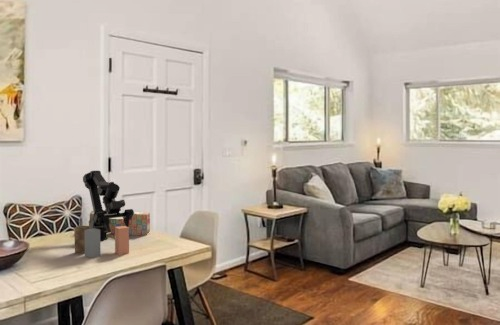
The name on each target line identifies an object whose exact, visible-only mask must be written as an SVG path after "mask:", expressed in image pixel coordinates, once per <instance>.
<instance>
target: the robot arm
mask: <svg viewBox="0 0 500 325" xmlns="http://www.w3.org/2000/svg"><path fill="white" fill-rule="evenodd" d="M82 182H83V183H84V184H83V185H84V187H85V188H86V189H87V190H88V192H89V196H90V201H91V206H92V211H94V214H93V216H92V220H91V223H90V229H92V228H95V229H100V242H102V241H106V240H108V239H109V237H107V236H108V235H107V234H108V233H107V231H106V229H107V230H108V231H110V227H109V218H118V217H123V219H124V223H125V226H127V227H129V220H130V219H132V217H133V214H134V212H135V211H134V209H133V208H129V209H125V210H124V211H123V212H121V210H122V209H121V208H124V207H125V206H126V201H125V199H120V200H116V199H117V196H118V194H119V192H120V186H119V185H118V184H117V183H115V182H114V181H110V182H108V181H107V180H106V179H105V177H104V176H103V174H102V173H101V170H91V171H89V172H87V173H85V174H84V175H83V176H82ZM101 197H102V201H101ZM102 204H104V207H105V211H104V209H103V205H102ZM94 226H95V227H94Z"/></svg>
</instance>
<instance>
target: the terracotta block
mask: <svg viewBox="0 0 500 325" xmlns="http://www.w3.org/2000/svg"><path fill="white" fill-rule="evenodd" d="M114 253H115V254H117V255H118V254H119V255H120V254H121V255H126V254H130V235H129V227H127V226H119V227H115V235H114ZM119 255H118V256H119ZM121 255H120V256H121Z"/></svg>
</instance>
